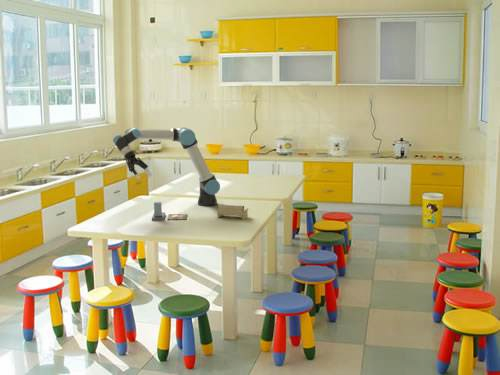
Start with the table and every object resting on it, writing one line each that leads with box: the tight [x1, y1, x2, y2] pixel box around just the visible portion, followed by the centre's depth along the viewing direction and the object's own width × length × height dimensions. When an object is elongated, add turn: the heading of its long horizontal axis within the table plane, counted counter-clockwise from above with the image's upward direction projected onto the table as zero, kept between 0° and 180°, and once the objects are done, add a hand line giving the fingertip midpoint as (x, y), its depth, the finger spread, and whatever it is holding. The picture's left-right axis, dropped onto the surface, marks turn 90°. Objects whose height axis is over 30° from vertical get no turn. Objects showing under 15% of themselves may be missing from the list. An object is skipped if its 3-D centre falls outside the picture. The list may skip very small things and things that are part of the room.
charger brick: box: [153, 201, 163, 217], centre depth 451 cm, size 5×5×12 cm
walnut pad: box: [166, 213, 188, 221], centre depth 456 cm, size 13×16×1 cm
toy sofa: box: [216, 203, 249, 221], centre depth 456 cm, size 21×9×10 cm, turn 72°
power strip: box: [151, 211, 166, 222], centre depth 455 cm, size 18×8×4 cm, turn 4°
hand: (145, 176), depth 459 cm, fingers open, 13 cm apart
